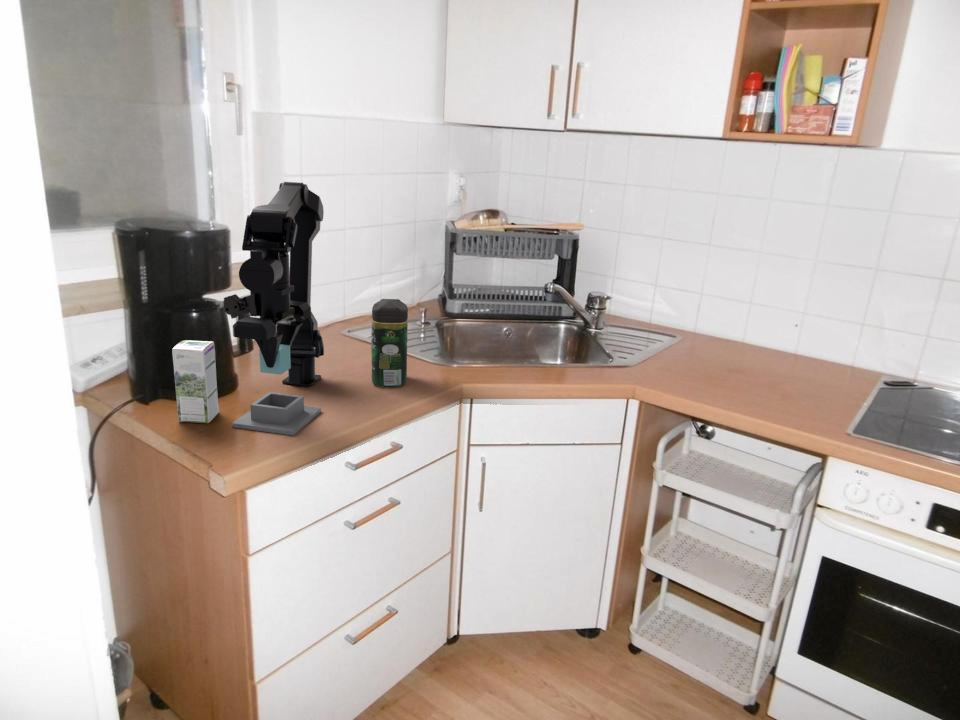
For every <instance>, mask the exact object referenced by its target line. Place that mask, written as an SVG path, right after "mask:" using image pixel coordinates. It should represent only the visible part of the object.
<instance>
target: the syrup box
mask: <svg viewBox="0 0 960 720" xmlns="http://www.w3.org/2000/svg"><path fill="white" fill-rule="evenodd" d="M171 349H172V351H171V352H172V353H171V355H172V363H173V375H174V384H175V386H174V387H175V398H176V407H177V408H176V409H177V418H178V422H179V423H195V424H197V423H198V424H209V423H210V422H211V421H213V419H215V418H216V417H217V415H218V414H219V413H220V407H219V397H218V385H217V384H218V383H217V382H218V381H217V367H216V363H217V362H216V349H215V342H214V341H208V340H204V341H203V340H191V339H190V340H188V339H185V340H181V341H179V342H178V343H177V344H176V345H174V347H173V348H171Z"/></svg>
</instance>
